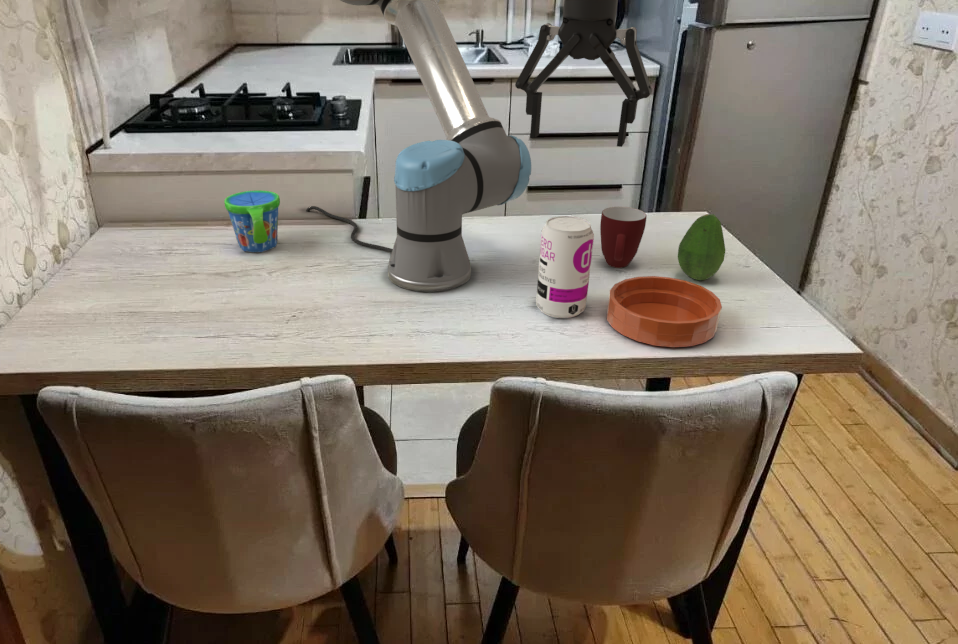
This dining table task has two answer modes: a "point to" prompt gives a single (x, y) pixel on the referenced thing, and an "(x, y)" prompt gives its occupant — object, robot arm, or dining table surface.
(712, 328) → the bowl
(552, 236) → the supplement can
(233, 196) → the snack cup
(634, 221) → the mug
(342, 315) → the dining table surface
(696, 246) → the avocado
